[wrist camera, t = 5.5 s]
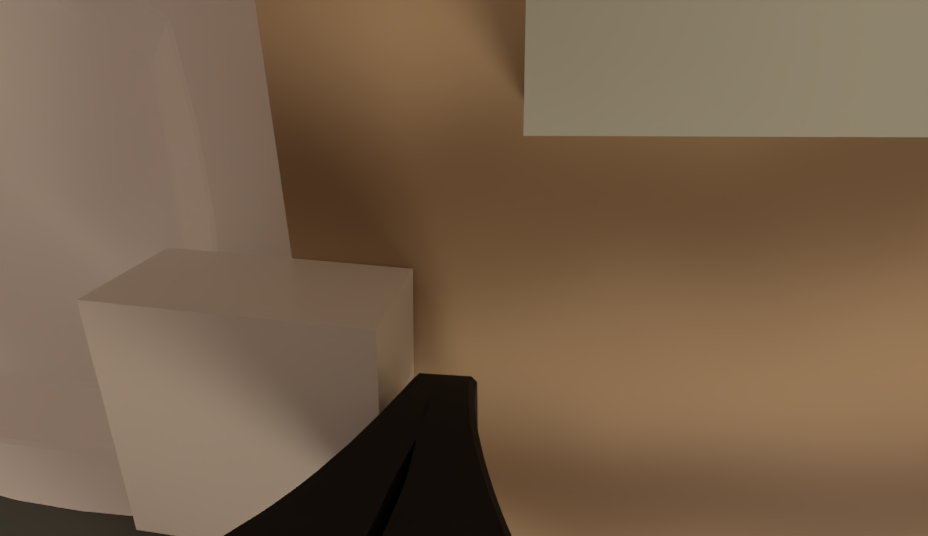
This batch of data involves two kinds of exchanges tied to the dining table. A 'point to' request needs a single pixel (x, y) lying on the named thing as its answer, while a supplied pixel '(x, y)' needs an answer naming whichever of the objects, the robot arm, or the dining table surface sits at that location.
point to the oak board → (619, 282)
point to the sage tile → (726, 68)
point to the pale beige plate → (114, 201)
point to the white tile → (241, 376)
